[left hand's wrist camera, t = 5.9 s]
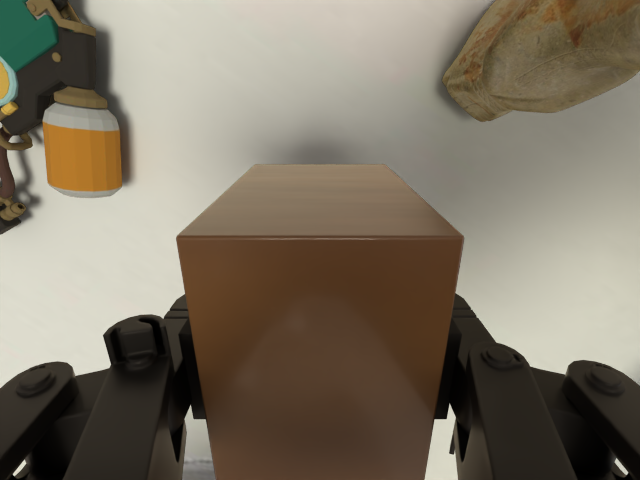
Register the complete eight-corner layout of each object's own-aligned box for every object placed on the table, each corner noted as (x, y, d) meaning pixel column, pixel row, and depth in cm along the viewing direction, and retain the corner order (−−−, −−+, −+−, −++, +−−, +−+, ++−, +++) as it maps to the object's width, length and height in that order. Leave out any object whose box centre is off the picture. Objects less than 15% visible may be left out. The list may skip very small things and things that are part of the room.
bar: (254, 163, 14) (174, 236, 6) (385, 163, 14) (466, 236, 6) (279, 529, 22) (259, 746, 15) (360, 529, 22) (380, 745, 15)
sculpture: (557, 46, 22) (944, -49, 9) (472, 133, 25) (674, 172, 11) (500, -24, 21) (853, -273, 7) (415, 75, 23) (561, 31, 9)
